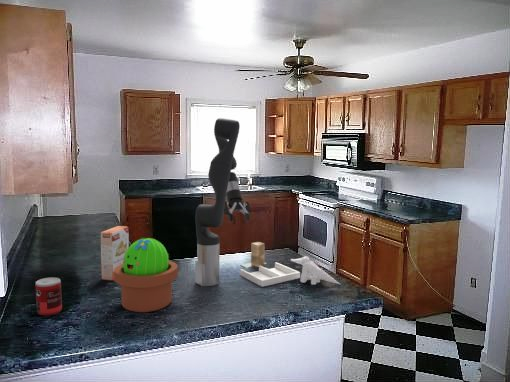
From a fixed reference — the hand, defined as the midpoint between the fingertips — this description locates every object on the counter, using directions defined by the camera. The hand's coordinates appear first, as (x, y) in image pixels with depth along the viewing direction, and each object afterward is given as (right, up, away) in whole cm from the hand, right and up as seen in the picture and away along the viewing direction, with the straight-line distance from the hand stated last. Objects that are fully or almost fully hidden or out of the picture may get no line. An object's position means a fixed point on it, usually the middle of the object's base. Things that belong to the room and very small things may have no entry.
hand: (240, 221), depth 202 cm
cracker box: (-54, -22, -20) cm, 62 cm away
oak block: (+9, -21, -6) cm, 23 cm away
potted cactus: (-32, -27, -50) cm, 65 cm away
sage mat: (+9, -21, -6) cm, 24 cm away
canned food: (-64, -27, -58) cm, 91 cm away
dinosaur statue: (+32, -25, -29) cm, 50 cm away
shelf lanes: (+14, -23, -22) cm, 35 cm away
